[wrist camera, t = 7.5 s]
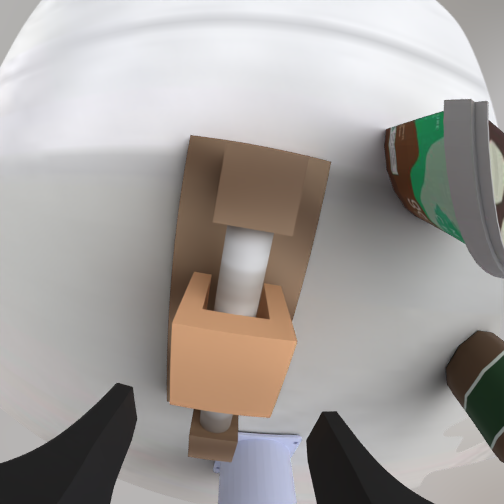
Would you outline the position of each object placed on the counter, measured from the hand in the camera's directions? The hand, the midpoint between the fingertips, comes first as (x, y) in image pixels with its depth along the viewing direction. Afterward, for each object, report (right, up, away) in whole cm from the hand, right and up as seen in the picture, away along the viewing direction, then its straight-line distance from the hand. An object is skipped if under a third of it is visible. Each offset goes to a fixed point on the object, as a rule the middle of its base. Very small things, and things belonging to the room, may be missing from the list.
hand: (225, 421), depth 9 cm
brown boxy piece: (0, +3, +9) cm, 10 cm away
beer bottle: (+25, -5, +13) cm, 28 cm away
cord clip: (0, +2, +7) cm, 8 cm away
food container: (+13, +10, +8) cm, 19 cm away
